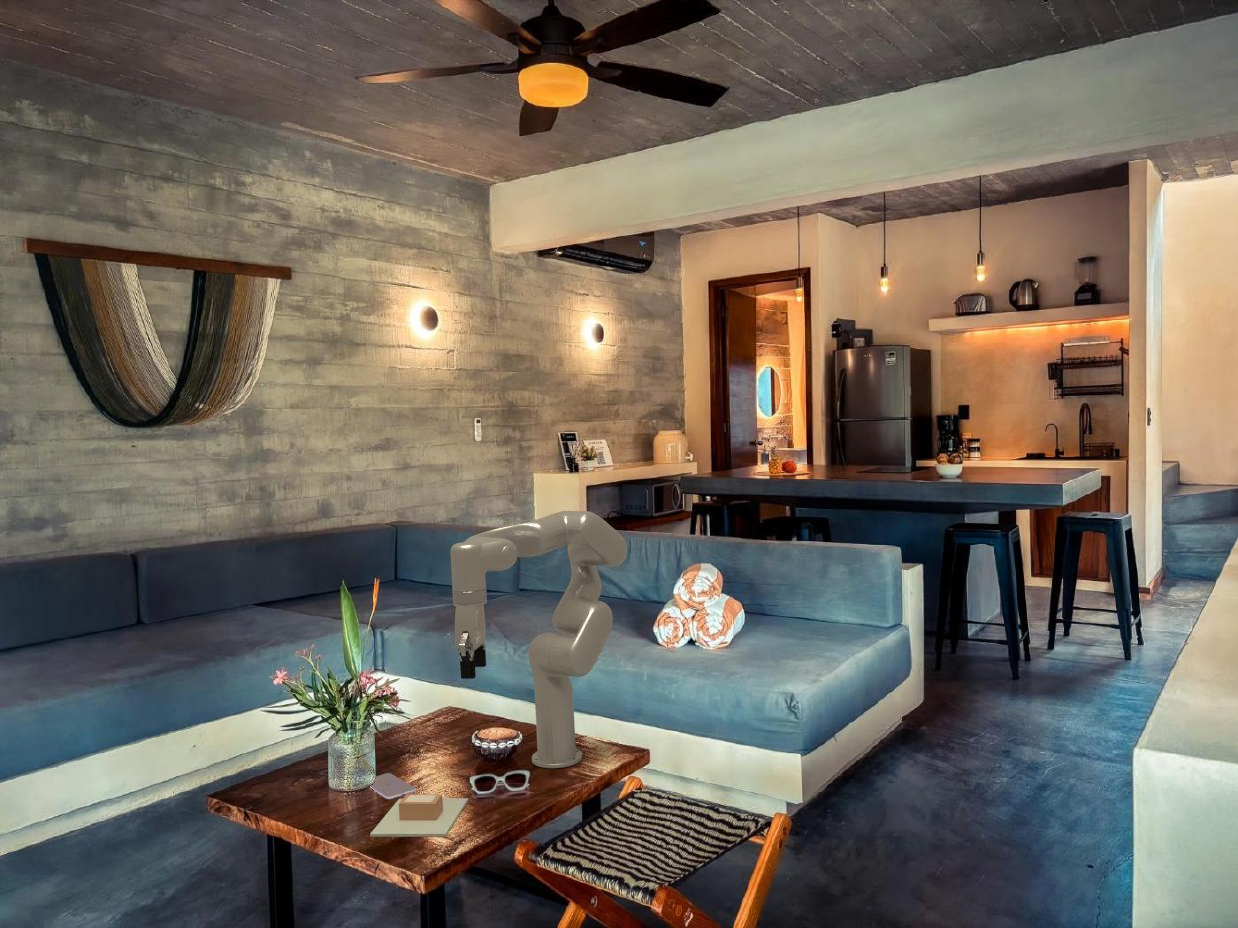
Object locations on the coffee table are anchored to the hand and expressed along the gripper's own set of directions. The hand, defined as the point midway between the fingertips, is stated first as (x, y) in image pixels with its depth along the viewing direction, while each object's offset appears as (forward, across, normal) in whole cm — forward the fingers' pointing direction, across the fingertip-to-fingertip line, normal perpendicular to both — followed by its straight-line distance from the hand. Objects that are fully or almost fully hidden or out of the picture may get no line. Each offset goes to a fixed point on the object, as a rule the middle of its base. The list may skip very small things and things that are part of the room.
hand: (473, 672), depth 209 cm
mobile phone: (+29, -6, -24) cm, 38 cm away
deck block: (+28, +12, -10) cm, 32 cm away
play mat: (+28, +12, -10) cm, 32 cm away
